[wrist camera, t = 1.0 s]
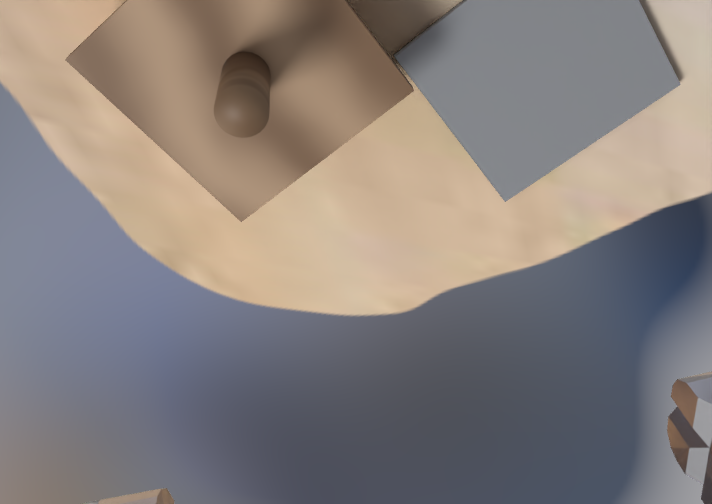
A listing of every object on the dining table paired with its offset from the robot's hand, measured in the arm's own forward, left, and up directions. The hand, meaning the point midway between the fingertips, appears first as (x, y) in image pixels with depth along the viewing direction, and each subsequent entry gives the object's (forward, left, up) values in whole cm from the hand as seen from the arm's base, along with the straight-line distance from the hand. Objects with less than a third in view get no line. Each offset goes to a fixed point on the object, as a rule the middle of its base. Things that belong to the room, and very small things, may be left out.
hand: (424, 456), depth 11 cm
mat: (-7, +12, -32) cm, 35 cm away
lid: (+6, 0, -29) cm, 30 cm away
